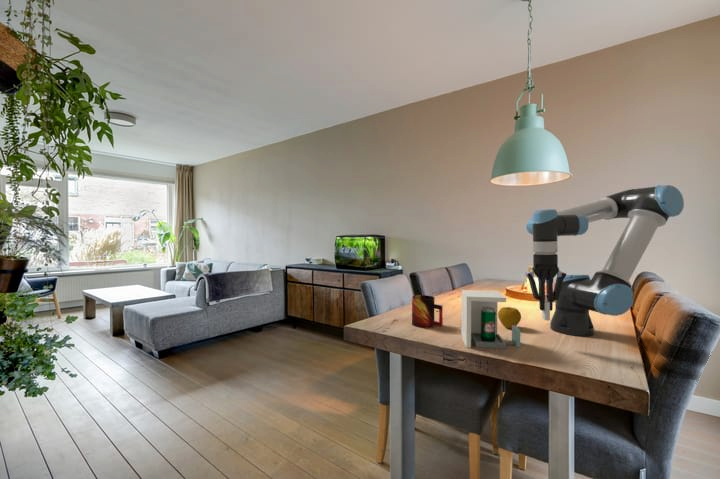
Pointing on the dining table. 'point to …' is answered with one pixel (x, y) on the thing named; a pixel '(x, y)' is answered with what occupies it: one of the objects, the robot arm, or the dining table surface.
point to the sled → (498, 340)
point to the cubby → (476, 310)
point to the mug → (425, 312)
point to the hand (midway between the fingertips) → (546, 319)
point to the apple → (509, 316)
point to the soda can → (488, 324)
